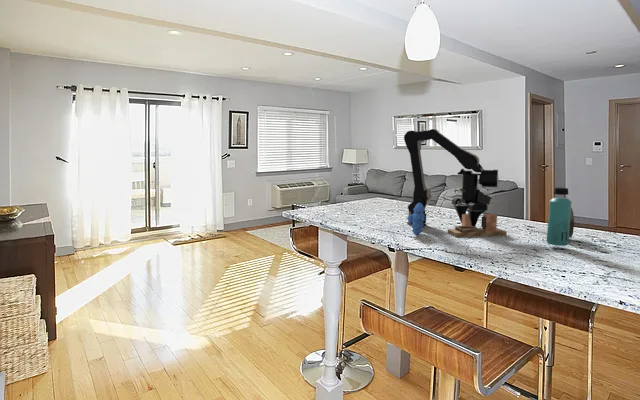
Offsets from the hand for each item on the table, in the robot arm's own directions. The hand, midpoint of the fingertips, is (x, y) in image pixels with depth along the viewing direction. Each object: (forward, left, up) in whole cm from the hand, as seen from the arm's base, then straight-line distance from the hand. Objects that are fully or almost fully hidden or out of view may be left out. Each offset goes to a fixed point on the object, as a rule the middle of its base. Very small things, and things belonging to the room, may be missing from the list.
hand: (467, 225), depth 166 cm
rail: (-1, -9, -2) cm, 9 cm away
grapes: (-24, -6, -2) cm, 25 cm away
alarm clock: (+25, -21, -2) cm, 33 cm away
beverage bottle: (+15, -32, -2) cm, 35 cm away
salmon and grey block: (0, 0, -2) cm, 2 cm away
